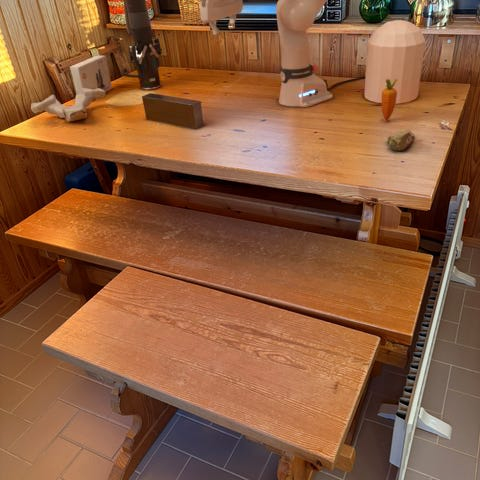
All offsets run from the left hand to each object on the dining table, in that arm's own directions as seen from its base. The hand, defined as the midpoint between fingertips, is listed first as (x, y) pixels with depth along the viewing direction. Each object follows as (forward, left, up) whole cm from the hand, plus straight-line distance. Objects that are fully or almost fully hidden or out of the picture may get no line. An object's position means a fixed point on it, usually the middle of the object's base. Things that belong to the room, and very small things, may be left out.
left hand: (149, 70), depth 177 cm
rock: (+95, +14, -19) cm, 98 cm away
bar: (+9, 0, -19) cm, 21 cm away
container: (+74, +59, -19) cm, 97 cm away
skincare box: (-52, +11, -19) cm, 57 cm away
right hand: (+27, +14, +12) cm, 33 cm away
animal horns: (-34, -16, -19) cm, 42 cm away
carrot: (+83, +32, -19) cm, 91 cm away
